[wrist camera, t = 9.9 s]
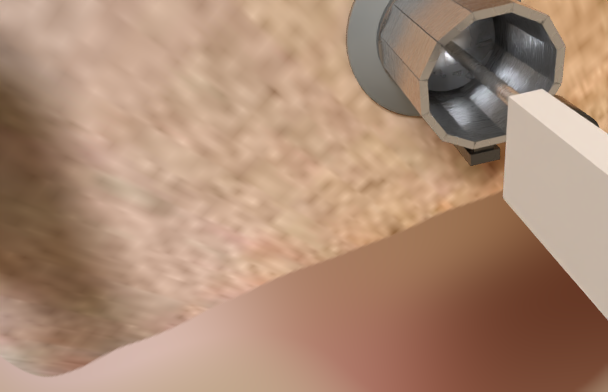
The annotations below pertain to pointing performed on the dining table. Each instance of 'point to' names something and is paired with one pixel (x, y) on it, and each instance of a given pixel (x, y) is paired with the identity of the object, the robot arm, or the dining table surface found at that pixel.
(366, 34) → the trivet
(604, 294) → the robot arm
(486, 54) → the plunger
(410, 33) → the faceted metal cup
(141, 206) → the dining table surface
